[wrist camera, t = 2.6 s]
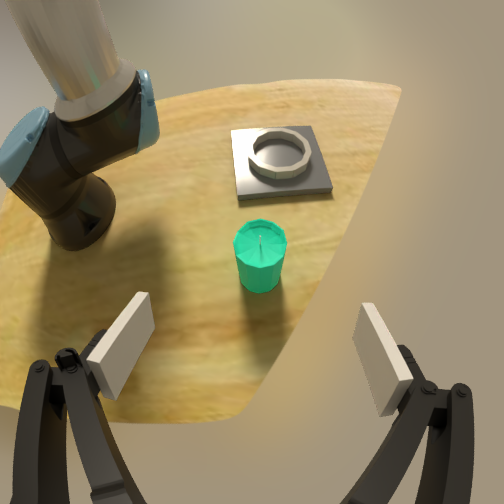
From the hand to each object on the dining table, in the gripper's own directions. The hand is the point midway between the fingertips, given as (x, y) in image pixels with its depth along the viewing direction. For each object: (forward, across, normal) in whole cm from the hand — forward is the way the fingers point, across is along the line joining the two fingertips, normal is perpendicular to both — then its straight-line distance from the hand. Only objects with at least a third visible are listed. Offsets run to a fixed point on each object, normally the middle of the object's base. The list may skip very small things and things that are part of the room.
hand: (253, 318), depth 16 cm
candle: (+23, 0, -8) cm, 24 cm away
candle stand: (+38, +2, +8) cm, 39 cm away
